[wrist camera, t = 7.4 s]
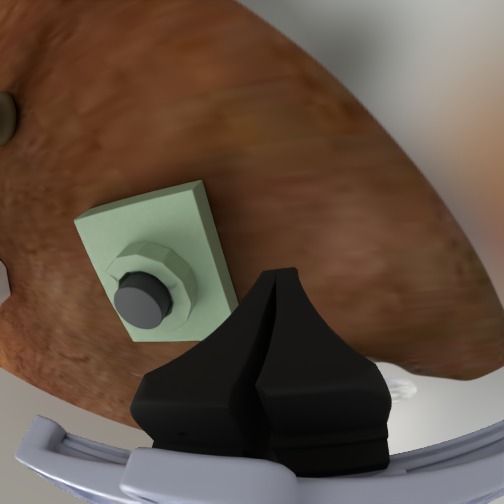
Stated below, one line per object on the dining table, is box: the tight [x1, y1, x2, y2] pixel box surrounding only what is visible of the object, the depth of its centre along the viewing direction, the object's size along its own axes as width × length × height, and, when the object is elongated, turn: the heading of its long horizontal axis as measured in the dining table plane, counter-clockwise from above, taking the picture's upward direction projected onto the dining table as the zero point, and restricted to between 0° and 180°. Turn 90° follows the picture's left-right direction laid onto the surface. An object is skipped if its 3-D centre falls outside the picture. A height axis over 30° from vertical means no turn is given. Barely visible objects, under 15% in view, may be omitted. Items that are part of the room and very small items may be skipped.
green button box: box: [74, 180, 239, 341], centre depth 21 cm, size 12×10×4 cm
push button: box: [114, 272, 171, 329], centre depth 19 cm, size 4×4×2 cm
